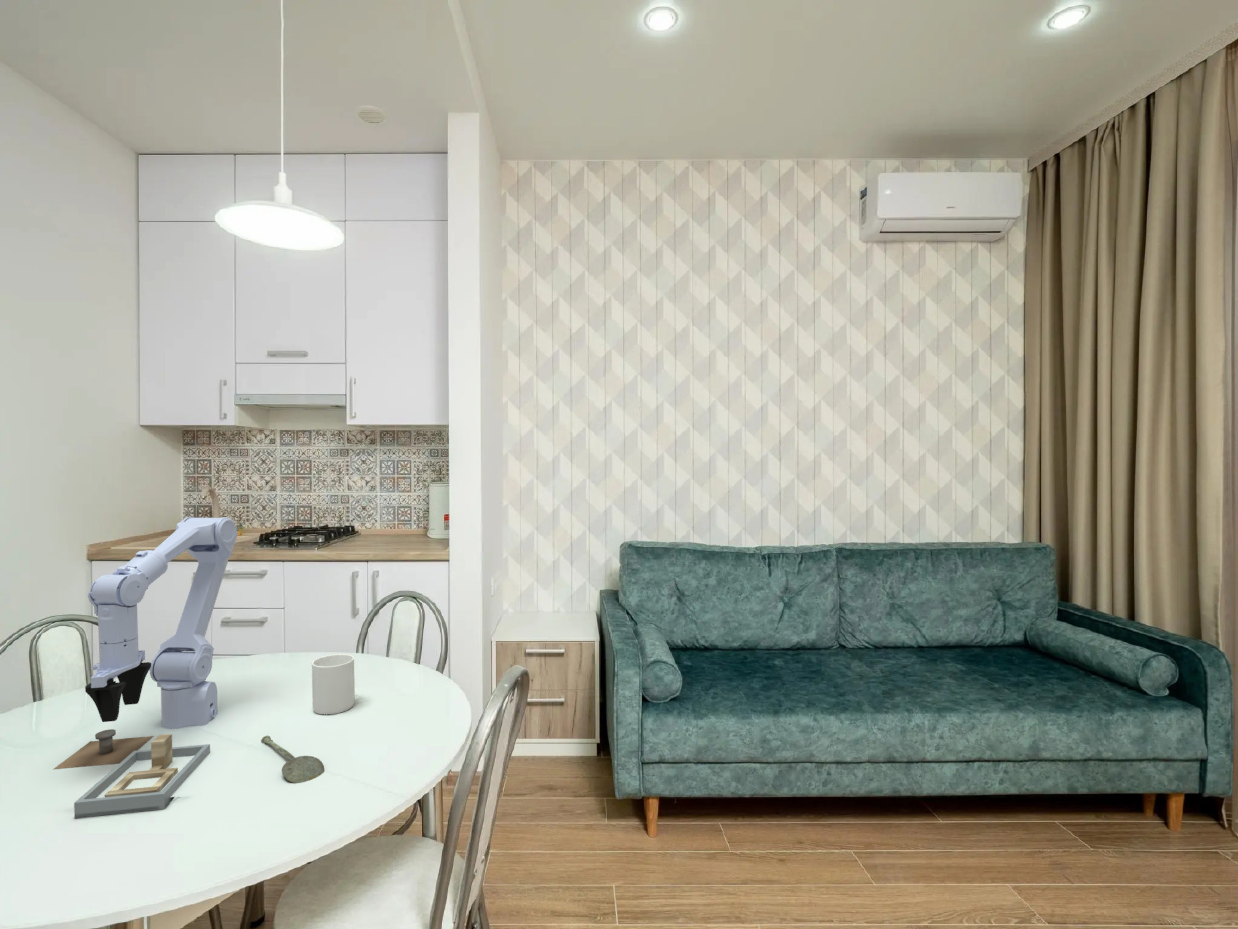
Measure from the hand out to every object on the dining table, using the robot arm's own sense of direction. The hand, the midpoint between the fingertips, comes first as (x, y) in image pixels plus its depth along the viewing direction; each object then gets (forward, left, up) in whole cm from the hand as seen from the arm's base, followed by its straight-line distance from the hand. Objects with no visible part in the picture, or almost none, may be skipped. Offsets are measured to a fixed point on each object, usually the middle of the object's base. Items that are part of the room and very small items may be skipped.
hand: (121, 712), depth 119 cm
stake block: (+4, -3, -9) cm, 11 cm away
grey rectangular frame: (-9, +10, -9) cm, 17 cm away
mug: (-32, -20, -10) cm, 39 cm away
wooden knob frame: (-9, +10, -9) cm, 16 cm away
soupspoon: (-30, +5, -10) cm, 32 cm away
